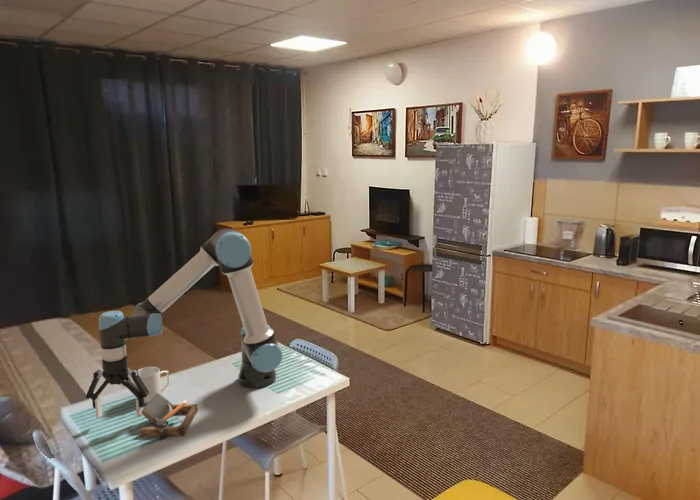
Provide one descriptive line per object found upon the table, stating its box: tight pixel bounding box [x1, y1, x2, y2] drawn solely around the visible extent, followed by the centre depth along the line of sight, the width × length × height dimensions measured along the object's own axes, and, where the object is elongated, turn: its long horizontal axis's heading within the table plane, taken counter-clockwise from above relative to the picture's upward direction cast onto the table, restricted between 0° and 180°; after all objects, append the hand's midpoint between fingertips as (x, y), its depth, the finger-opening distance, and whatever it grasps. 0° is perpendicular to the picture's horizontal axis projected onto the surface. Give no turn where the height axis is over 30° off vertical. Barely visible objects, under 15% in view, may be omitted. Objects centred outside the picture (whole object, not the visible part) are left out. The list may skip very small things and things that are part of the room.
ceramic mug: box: [142, 393, 174, 425], centre depth 166 cm, size 11×8×8 cm
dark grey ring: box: [153, 420, 169, 441], centre depth 158 cm, size 4×4×5 cm
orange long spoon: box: [156, 399, 189, 426], centre depth 164 cm, size 3×16×1 cm, turn 165°
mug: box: [134, 366, 170, 405], centre depth 185 cm, size 12×9×11 cm
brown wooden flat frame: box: [139, 403, 199, 437], centre depth 167 cm, size 14×16×2 cm
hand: (119, 416), depth 167 cm, fingers open, 13 cm apart
